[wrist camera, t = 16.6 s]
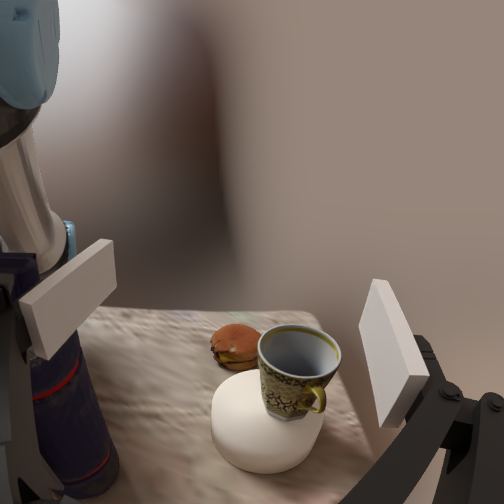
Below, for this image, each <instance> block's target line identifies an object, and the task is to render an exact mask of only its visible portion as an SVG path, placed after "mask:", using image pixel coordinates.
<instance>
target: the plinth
mask: <svg viewBox="0 0 504 504" xmlns="http://www.w3.org/2000/svg"><path fill="white" fill-rule="evenodd" d="M312 407H314V408H316V409H318V410H319V407H320V405H319V401H318V398H317V399H316V400H315V402H314V404H313V405H312ZM323 421H324V412H322V413H320V414H317V413H314V412H312V411H310V410H309V411H308V413H307V414H306V416H305V417H304V418H303V419H299V420H293V421H288V422H285V421H283V420H280V419H278V418H276V417H274V416H272V415H270V414H268V413H267V411H266V409H265V406H264V403H263V400H262V395H261V382H260V371H259V369H256V370H249V371H244V372H241V373H238V374H236V375H233V376H232V377H230V378H228V379H227V380H226V381H224V382H223V383H222V384H221V385H220V386H219V388H218V389H217V390H216V392H215V394H214V397H213V400H212V422H211V433H212V439H213V442H214V445H215V447H216V449H217V450H218V452H219V453H220V454H221V455H222V456H223V457H224V458H225V459H226V460H227V461H228V462H230V463H231V464H233V465H234V466H236V467H238V468H240V469H243V470H245V471H249V472H253V473H259V474H273V473H279V472H284V471H286V470H289V469H291V468H293V467H295V466H297V465H298V464H300V463H301V462H302V461H303V460H304V459H305V458H306V457H307V456H308V455H309V453H310V451H311V449H312V447H313V445H314V443H315V441H316V438H317V436H318V434H319V432H320V429H321V427H322V424H323Z"/></svg>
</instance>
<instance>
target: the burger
mask: <svg viewBox="0 0 504 504" xmlns="http://www.w3.org/2000/svg"><path fill="white" fill-rule="evenodd" d="M260 337H261V334H260V333H259V332H257V331H256V330H254V329H253V328H251V327H248V326H246V325H241V324H230V325H227V326H224V327H222V328H221V329H219V330H218V331H216V332H215V333H214V334H213V336H212V338H211V340H210V342H211V344H212V347H211V351H213V353H214V356H213V358H214V359H215V360H217V361H218V362H219V363H223V364H224V365H225V366H226V367H227V368H228V369H231V370H236V371H244V370H246V369H247V370H248V369H251V368H253V367H254V366H256V365H257V364H258V341H259V339H260Z"/></svg>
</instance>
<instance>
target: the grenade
mask: <svg viewBox="0 0 504 504" xmlns="http://www.w3.org/2000/svg"><path fill="white" fill-rule="evenodd" d="M38 281H40V275H39V270H38V264H37V259H36V253H15V252H0V284H5V285H7V286H8V289H9V292H10V296H11V300H12V302H13V301H14V300H16V299H17V298H18V297H19V296H21V295H22V294H23V293H24V292H26V291H27V290H29V288H31V287H32V286H34V285H35V284H36V283H37V282H38ZM27 350H28V352H29V356H30V376H31V390H32V401H33V410H34V418H35V426H36V433H37V439H38V445H39V451H40V456H41V461H42V466H43V471H44V475H45V480H46V483H47V486H48V488H51V489H52V490H53V491H55V492H56V493H58V494H60V495H62V496H64V495H66V496H68V497H70V498H73V499H86V498H92V497H94V496H98V495H100V494H103V493H104V492H106V491H107V490H108V489H109V487H110V486H111V485H112V484H113V482H114V481H115V479H116V477H117V475H118V470H119V458H118V455H117V452H116V449H115V447H114V444H113V442H112V439H111V437H110V434H109V432H108V429H107V426H106V424H105V421H104V418H103V416H102V413H101V410H100V407H99V404H98V401H97V398H96V395H95V392H94V389H93V386H92V383H91V380H90V376H89V373H88V370H87V366H86V363H85V359H84V356H83V352H82V348H81V346H80V341H79V336H78V332H77V329H76V330H75V332H74V333H73V334H72V335H71V336H70V337H69V338H68V339H67V340H66V341H65V343H64V344H63V345H62V346H61V347H60V348H59V349H58V350H57V352H56V353H55V354H54V355H53V356H52V357H51V358H50V359H49V361H48V360H46V359H44V358H41V357H39V356H37V355H36V354H35V351H34V349H33V346H32V345H31V346H30V347H29V348H28V349H27Z"/></svg>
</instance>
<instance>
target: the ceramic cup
mask: <svg viewBox="0 0 504 504" xmlns="http://www.w3.org/2000/svg"><path fill="white" fill-rule="evenodd" d="M341 360H342V352H341V349H340V347H339V345H338V343H337V342H336V341H335V340H334V339H333V338H332V337H331V336H329V335H328V334H326V333H325V332H323V331H321V330H319V329H316V328H314V327H310V326H306V325H300V324H285V325H279V326H276V327H273V328H271V329H269V330H267V331H266V332H265V333H264V334H263V335H262V336H261V337H260V339H259V341H258V365H259V371H260V382H261V395H262V400H263V403H264V406H265V409H266V411H267V413H268V414H270V415H272V416H274V417H276V418H278V419H280V420H283V421H285V422H288V421H293V420H299V419H303V418H304V417H305V416H306V414H307V413H308V411H309V410H310V411H312V412H314V413H317V414H320V413H322V412H324V410H325V407H326V394H325V391H324V388H325V387H326V386H327V385H328V383H329V382H330V380H331V379H332V377H333V376H334V374H335V373H336V371H337V369H338V367H339V366H340V364H341ZM317 398H318V401H319V405H320V407H319V410H318V409H316V408H314V407H312V405H313V404H314V402H315V400H316V399H317Z"/></svg>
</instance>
